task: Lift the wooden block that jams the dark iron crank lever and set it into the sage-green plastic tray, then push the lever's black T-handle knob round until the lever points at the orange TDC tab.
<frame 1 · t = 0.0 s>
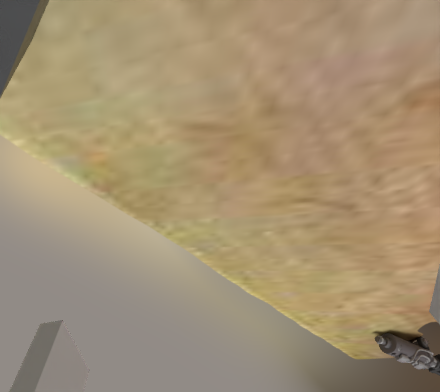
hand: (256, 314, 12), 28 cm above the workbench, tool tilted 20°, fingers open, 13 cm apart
hydraulic cylinder: (406, 337, 112), on the workbench
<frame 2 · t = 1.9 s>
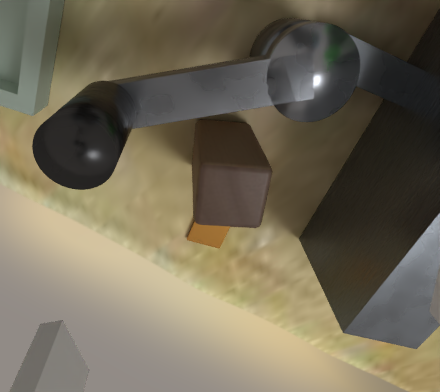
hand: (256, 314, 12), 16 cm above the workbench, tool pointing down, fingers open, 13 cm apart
wooden block: (220, 144, 26), on the workbench
crank: (223, 102, 16), point 8 cm above the workbench, hinge at -60.0°
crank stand: (286, 59, 23), on the workbench
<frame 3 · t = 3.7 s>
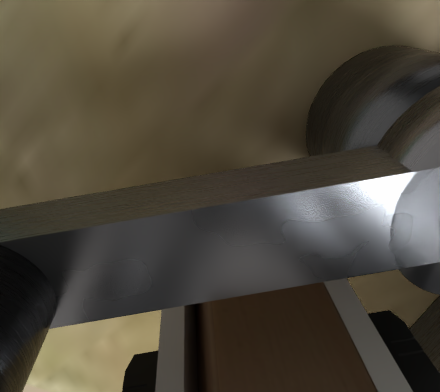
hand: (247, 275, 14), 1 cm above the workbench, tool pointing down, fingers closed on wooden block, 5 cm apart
wooden block: (244, 260, 15), on the workbench, touching gripper
crank: (303, 344, 5), point 8 cm above the workbench, hinge at -60.0°
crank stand: (376, 123, 12), on the workbench
when the fingers open (3 cm above the workbench, at t = 9.6 s): wooden block drops 1 cm, resting on tray.
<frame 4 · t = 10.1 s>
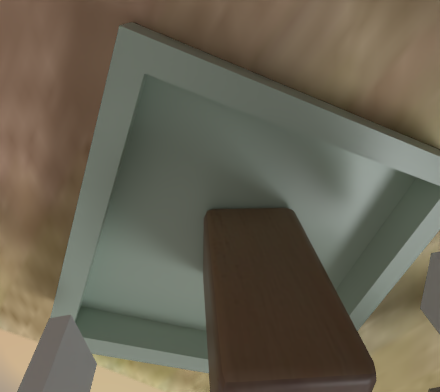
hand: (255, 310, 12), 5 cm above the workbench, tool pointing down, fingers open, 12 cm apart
wooden block: (245, 239, 16), point 1 cm above the workbench, touching tray
tray: (237, 232, 17), on the workbench
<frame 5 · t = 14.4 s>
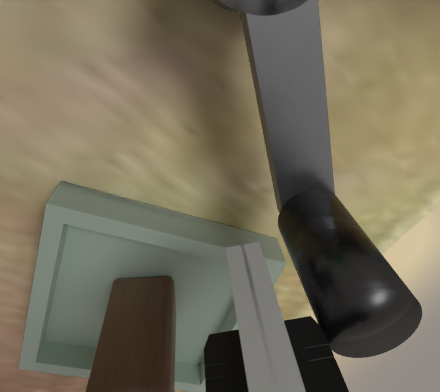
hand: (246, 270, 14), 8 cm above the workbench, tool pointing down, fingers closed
wooden block: (146, 294, 24), point 1 cm above the workbench, touching tray
tray: (148, 291, 25), on the workbench
crank: (313, 104, 11), point 8 cm above the workbench, hinge at -55.0°, touching gripper
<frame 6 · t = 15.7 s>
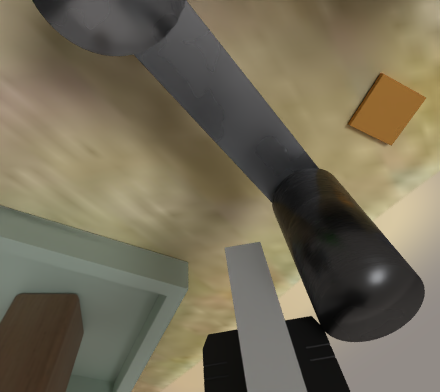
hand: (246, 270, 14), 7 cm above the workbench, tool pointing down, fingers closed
wooden block: (53, 310, 24), point 1 cm above the workbench, touching tray
tray: (57, 306, 24), on the workbench
crank: (221, 111, 10), point 8 cm above the workbench, hinge at -24.1°, touching gripper
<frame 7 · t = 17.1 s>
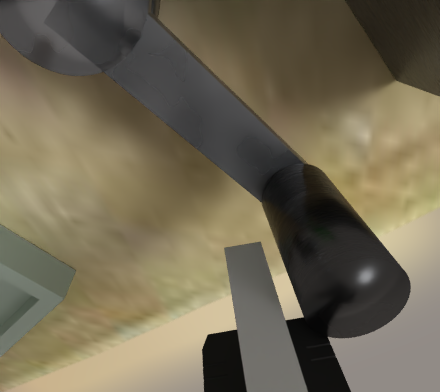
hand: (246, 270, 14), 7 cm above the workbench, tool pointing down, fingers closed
crank: (190, 119, 10), point 8 cm above the workbench, hinge at 3.4°, touching gripper
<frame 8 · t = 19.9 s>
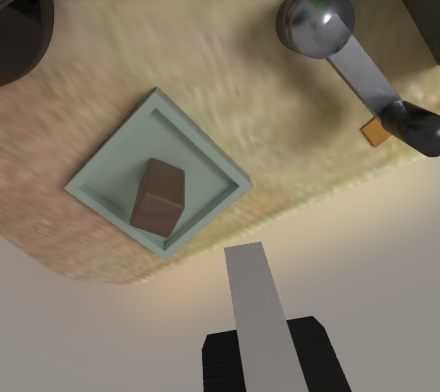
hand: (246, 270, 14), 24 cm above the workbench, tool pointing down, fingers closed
wooden block: (162, 177, 38), point 1 cm above the workbench, touching tray
tray: (162, 177, 39), on the workbench
crank: (372, 74, 27), point 8 cm above the workbench, hinge at 3.5°
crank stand: (302, 22, 32), on the workbench
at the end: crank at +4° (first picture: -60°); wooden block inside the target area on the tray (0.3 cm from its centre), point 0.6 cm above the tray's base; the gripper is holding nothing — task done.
